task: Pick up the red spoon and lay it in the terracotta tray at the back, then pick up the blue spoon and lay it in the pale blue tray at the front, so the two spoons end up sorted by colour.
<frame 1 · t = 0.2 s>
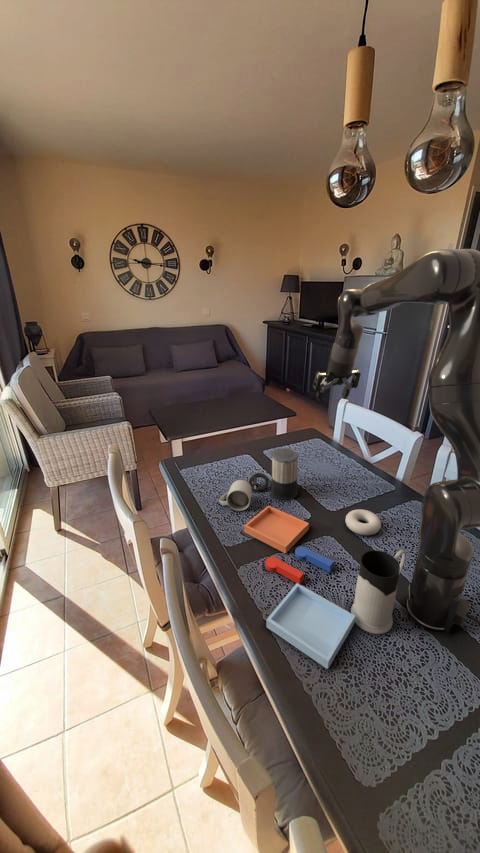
hand: (331, 398, 118), 31 cm above the table, tool tilted 20°, fingers open, 8 cm apart
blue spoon: (319, 563, 94), on the table
red spoon: (289, 575, 90), on the table
terracotta tray: (276, 530, 106), on the table
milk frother: (272, 490, 126), on the table
ceramic mug: (236, 504, 119), on the table
grey pitcher: (378, 609, 81), on the table
blue tray: (310, 625, 77), on the table
donut: (362, 527, 107), on the table
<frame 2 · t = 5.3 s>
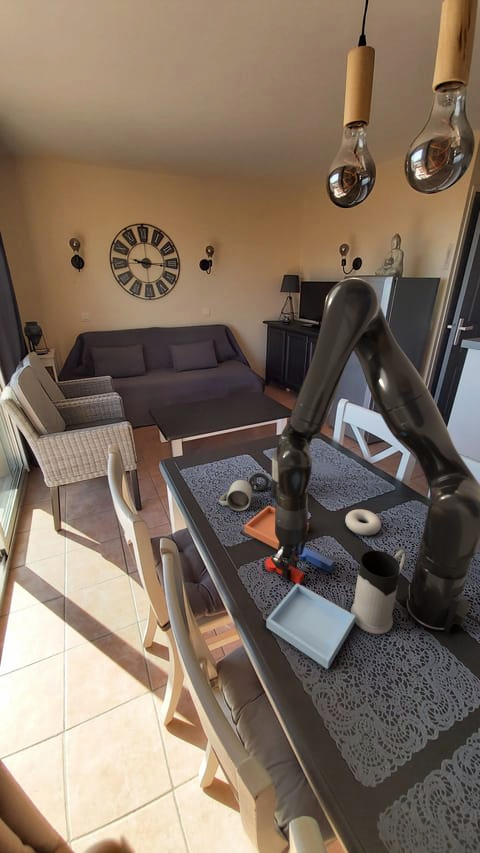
hand: (289, 574, 90), 0 cm above the table, tool pointing down, fingers closed on red spoon, 2 cm apart
red spoon: (289, 575, 90), on the table, touching gripper
everything else where it was.
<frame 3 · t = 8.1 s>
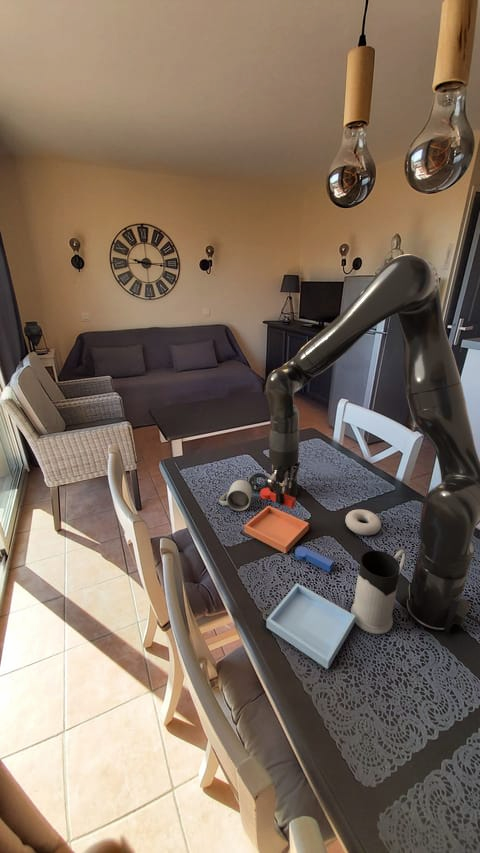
hand: (282, 500, 98), 13 cm above the table, tool pointing down, fingers closed on red spoon
red spoon: (282, 502, 98), point 12 cm above the table, touching gripper
everything else where it was.
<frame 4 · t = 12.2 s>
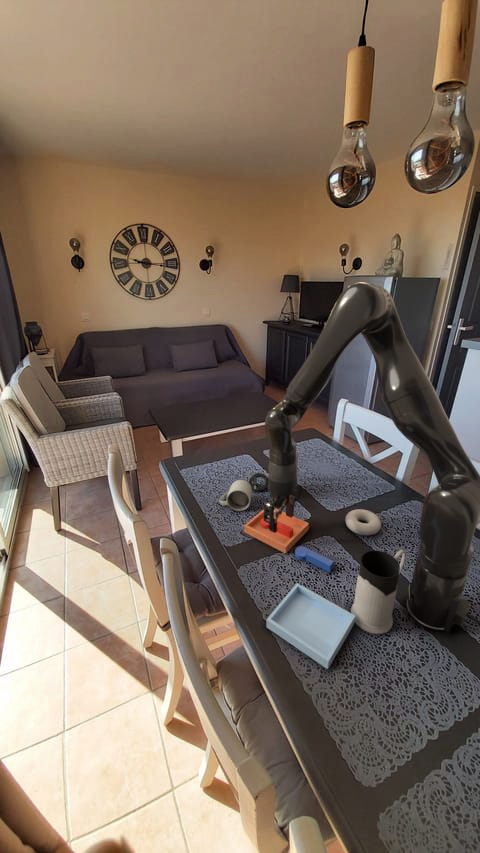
hand: (281, 523, 103), 4 cm above the table, tool pointing down, fingers open, 8 cm apart
red spoon: (281, 531, 105), point 1 cm above the table, touching terracotta tray
everything else where it was.
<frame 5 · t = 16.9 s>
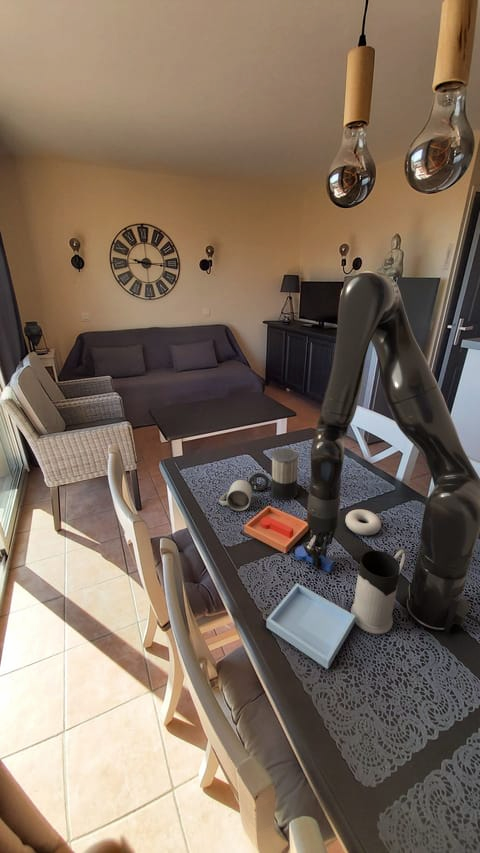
hand: (319, 562, 93), 0 cm above the table, tool pointing down, fingers closed on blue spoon, 2 cm apart
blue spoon: (319, 563, 94), on the table, touching gripper
everything else where it was.
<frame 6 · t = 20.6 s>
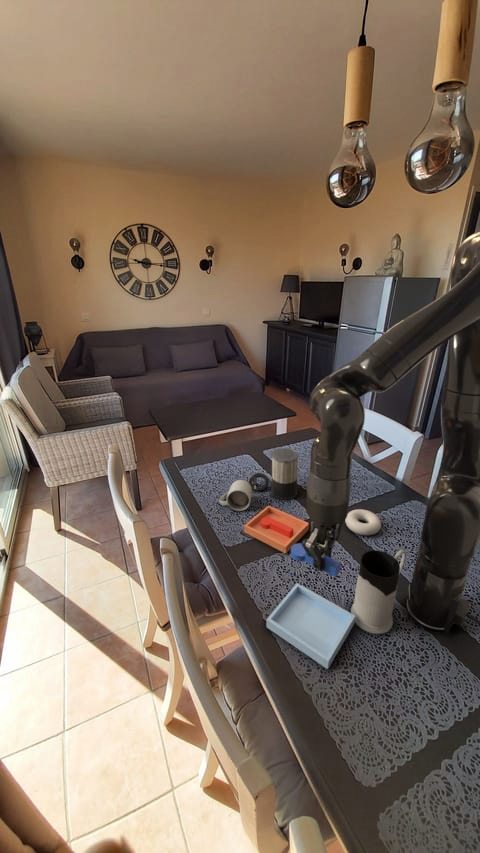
hand: (321, 564, 72), 16 cm above the table, tool pointing down, fingers closed on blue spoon
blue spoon: (321, 566, 72), point 16 cm above the table, touching gripper
everything else where it was.
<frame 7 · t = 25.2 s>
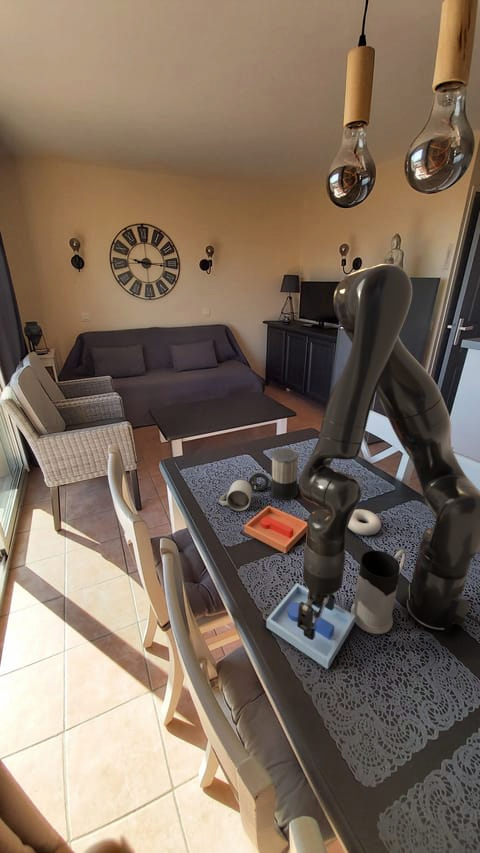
hand: (319, 621, 75), 3 cm above the table, tool pointing down, fingers open, 8 cm apart
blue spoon: (316, 626, 76), point 1 cm above the table, touching blue tray
everything else where it was.
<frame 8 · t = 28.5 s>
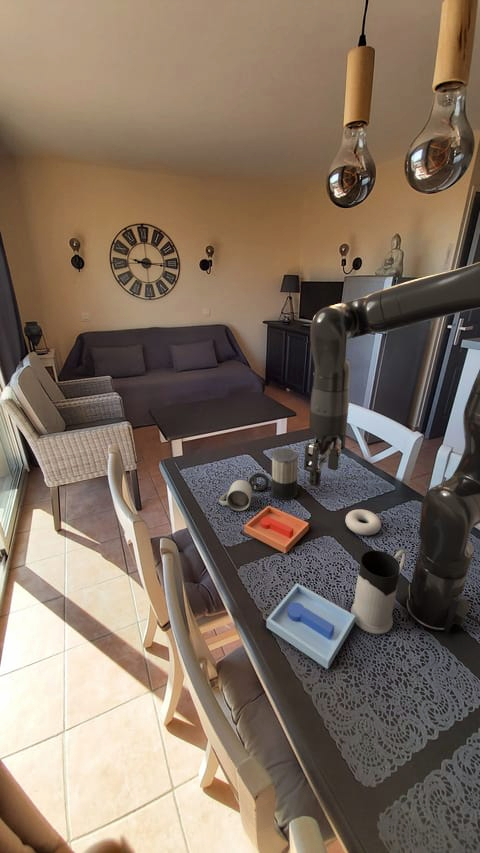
hand: (324, 476, 80), 28 cm above the table, tool pointing down, fingers open, 8 cm apart
nothing on the table moved.
at the end: red spoon inside the target area in the terracotta tray (1.6 cm from its centre), point 0.6 cm above the terracotta tray's base; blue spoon inside the target area in the blue tray (1.4 cm from its centre), point 0.6 cm above the blue tray's base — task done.
